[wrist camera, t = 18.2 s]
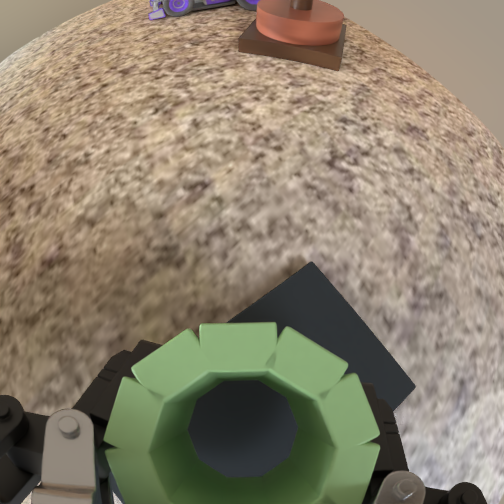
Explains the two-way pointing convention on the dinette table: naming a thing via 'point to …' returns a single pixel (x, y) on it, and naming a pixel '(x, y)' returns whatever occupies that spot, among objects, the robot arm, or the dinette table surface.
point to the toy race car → (193, 6)
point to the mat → (273, 403)
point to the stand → (297, 32)
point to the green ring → (233, 369)
